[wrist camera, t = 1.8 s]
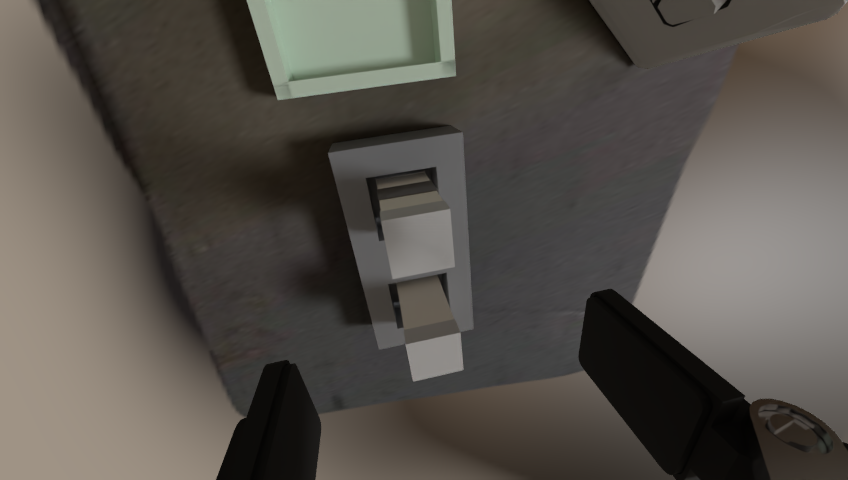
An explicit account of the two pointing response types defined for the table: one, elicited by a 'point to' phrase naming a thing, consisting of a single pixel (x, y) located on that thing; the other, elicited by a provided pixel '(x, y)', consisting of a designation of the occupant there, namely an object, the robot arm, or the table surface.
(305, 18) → the parts tray
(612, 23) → the electrical switch
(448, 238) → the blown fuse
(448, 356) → the block
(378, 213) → the block
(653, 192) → the table surface
